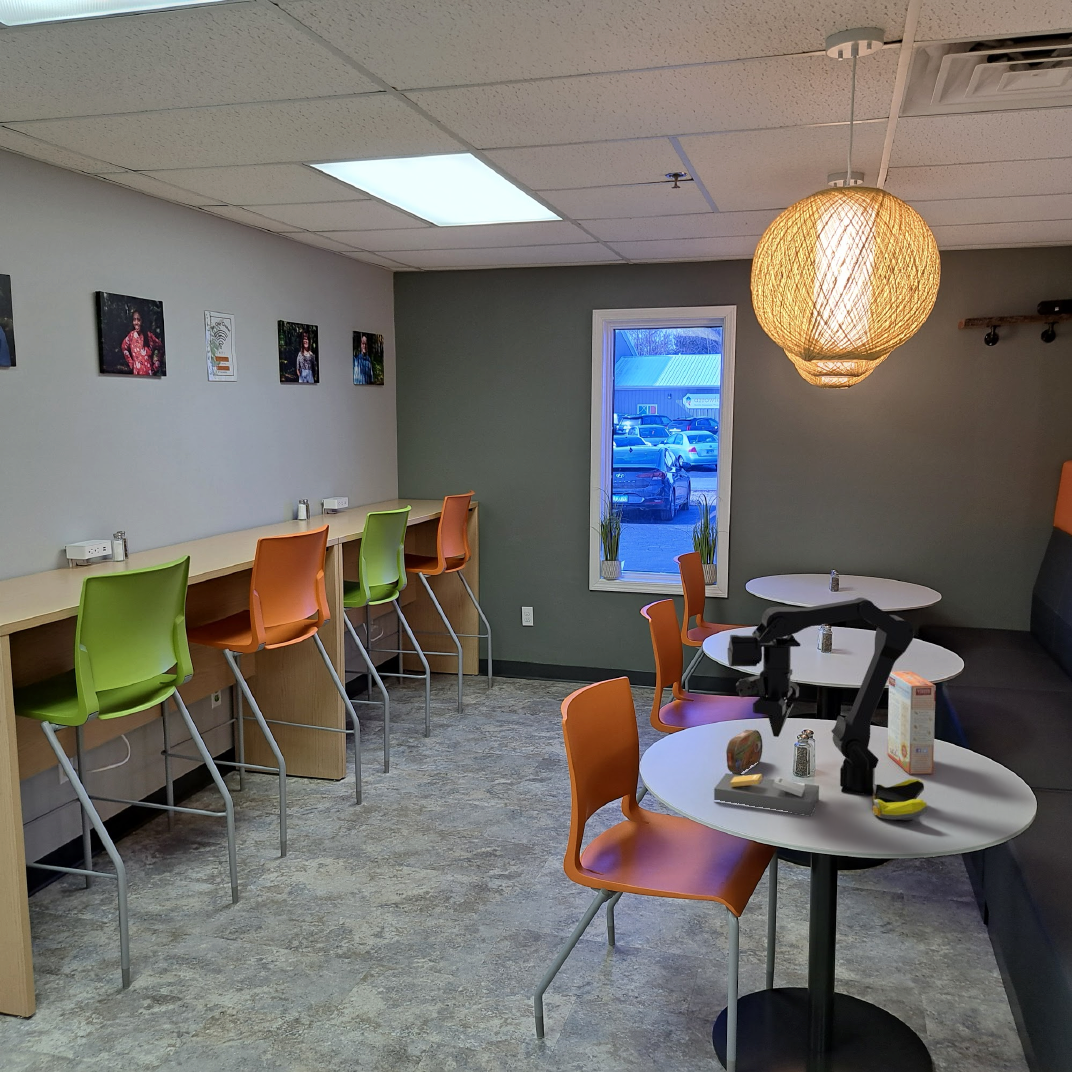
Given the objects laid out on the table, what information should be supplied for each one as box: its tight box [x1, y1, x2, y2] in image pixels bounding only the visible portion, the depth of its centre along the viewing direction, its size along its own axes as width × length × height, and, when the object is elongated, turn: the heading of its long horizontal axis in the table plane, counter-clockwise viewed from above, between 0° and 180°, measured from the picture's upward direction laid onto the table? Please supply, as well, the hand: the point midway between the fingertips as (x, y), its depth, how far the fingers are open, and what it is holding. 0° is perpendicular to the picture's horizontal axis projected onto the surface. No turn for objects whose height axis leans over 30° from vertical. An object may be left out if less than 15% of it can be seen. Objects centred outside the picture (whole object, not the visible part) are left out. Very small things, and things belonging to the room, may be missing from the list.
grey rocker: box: [773, 775, 805, 797], centre depth 195 cm, size 6×4×1 cm, turn 64°
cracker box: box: [887, 670, 936, 775], centre depth 218 cm, size 14×6×21 cm, turn 179°
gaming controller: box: [872, 778, 928, 821], centre depth 191 cm, size 15×6×10 cm
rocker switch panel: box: [713, 773, 820, 817], centre depth 199 cm, size 20×10×4 cm, turn 64°
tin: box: [726, 729, 763, 775], centre depth 218 cm, size 15×3×8 cm, turn 143°
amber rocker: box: [730, 773, 763, 787], centre depth 199 cm, size 6×4×1 cm, turn 65°
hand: (776, 736), depth 204 cm, fingers closed
